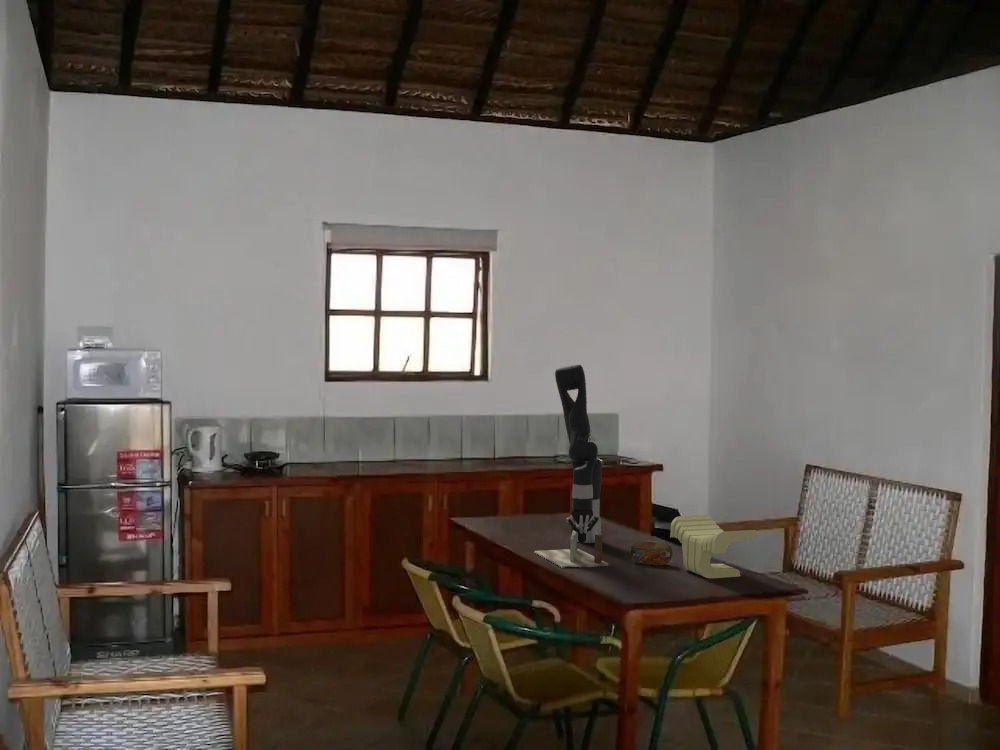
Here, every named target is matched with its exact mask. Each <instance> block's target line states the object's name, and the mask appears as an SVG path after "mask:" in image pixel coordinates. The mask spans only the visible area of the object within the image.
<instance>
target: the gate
mask: <svg viewBox="0 0 1000 750" xmlns="http://www.w3.org/2000/svg"><path fill="white" fill-rule="evenodd" d="M577 547H578V542H577V532H575V531H573V532H572V535H571V540H570V561H573V560H574V556H575V553H576V550H577V549H578V548H577Z"/></svg>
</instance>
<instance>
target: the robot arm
mask: <svg viewBox="0 0 1000 750" xmlns="http://www.w3.org/2000/svg"><path fill="white" fill-rule="evenodd" d="M554 372H555V373H554V377H555V378H554V379H555V382H556V386H557V390H558V394H559V395H558V396H559V399H560V403H561V406H562V411H563V417H564V425H565V429H566V430H565V431H566V433H567V439H568V443H569V447H568V457H569V458H570V460H571V464H572V465H571V466H572V472H573V473H572V475H573V476H572V490H571V511H570V512H571V513H570V516H568V517H565V518H564V519H565V522H566V523H567V524H568V526H570V527H571V528H572V530H573V531H575V532H577V543H580V544H595V535H598V534H600V535H602V517H600V508H601V507H600V504H601V488H602V476H603V475H602V473H603V465H602V461H601V460H600V459H599V458H598V452H599V448H598V446H597V444H596V443H595V442H594V441H588V438H589V437H590V433H591V425H590V420H589V419H590V418H589V415H588V410H587V408H588V407H587V403H588V402H587V386H586V385H587V383H586V380H587V379H586V375H585V371H584V367H583V366H582V364H573V365H567V366H562V367H557V368H556V369H555V371H554ZM574 390H577V396H576V399H575V400H573V397H571V395H570V393H569V391H574ZM574 523H576V526H575V525H574Z"/></svg>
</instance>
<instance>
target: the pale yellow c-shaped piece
mask: <svg viewBox="0 0 1000 750" xmlns="http://www.w3.org/2000/svg"><path fill="white" fill-rule="evenodd" d="M669 532H670V538H676V539H678V541H679V542H680V544H681V550H682V558H683V560H682V561H683V567H684V569H686V570H687V571H689V572H692V573H694V574H696V575H699V576H701V577H703V578H706V579H719V578H721V579H723V578H735V577H737V578H738V577H741V572H740V570H739V569H737V568H734V567H732V566H728V565H726V564H725V563H711V558H712V557H713V554H714V555H720V554H721V555H724V554H726V553H727V550H728V547H729V546H730V545H731V544H733V543H738V542H741V543H742V541H747V540H752V539H756V538H757V529H745V530H724V529H721V527H720V526H719V525H718V524H717V522H716V521H715V520H714V519H713V518H712V516H711V515H710V514H700V515H699V514H697V515H679V516H676V517H674V518H673V520H672V521H671V523H670V531H669Z"/></svg>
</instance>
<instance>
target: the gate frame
mask: <svg viewBox="0 0 1000 750" xmlns="http://www.w3.org/2000/svg"><path fill="white" fill-rule="evenodd" d="M573 523H574V525H575V526H576V522H573ZM568 526H569V525H568ZM568 528H569V529H568V530H569V531H568V532H569V533H568V548H567V549H565V548H564V549H548V550H547V549H545V550H534V551H533V553H534V554H535V553H536V554H535V555H537V554H538V555H539V556H538V555H537V556H538V557H540V556H541V558H542V557H543V558H542V559H544V558H545V559H544V560H546V559H547V560H549V561H550V562H549V561H548V562H549V563H551V562H552V563H551V564H553V563H554V564H553V565H555V564H556V565H558V566H559V567H558V566H557V567H558V568H560V567H561V569H566V568H565V567H579V568H592V567H593V568H595V567H608V566H609V563H608V562H606V561H604V560H603V559H602V558H603V535H602V534H601V535H600V534H598V535H595V543H594V553H593V554H594V555H592V554H590V553H588V552H586V551H584V550H582V549H580V548H577V550H576V553H575V556H574V560H573V561H570V540H571V535H572V532H573V530H572V528H571V527H570V526H569V527H568ZM547 560H546V561H547ZM556 565H555V566H556Z"/></svg>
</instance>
